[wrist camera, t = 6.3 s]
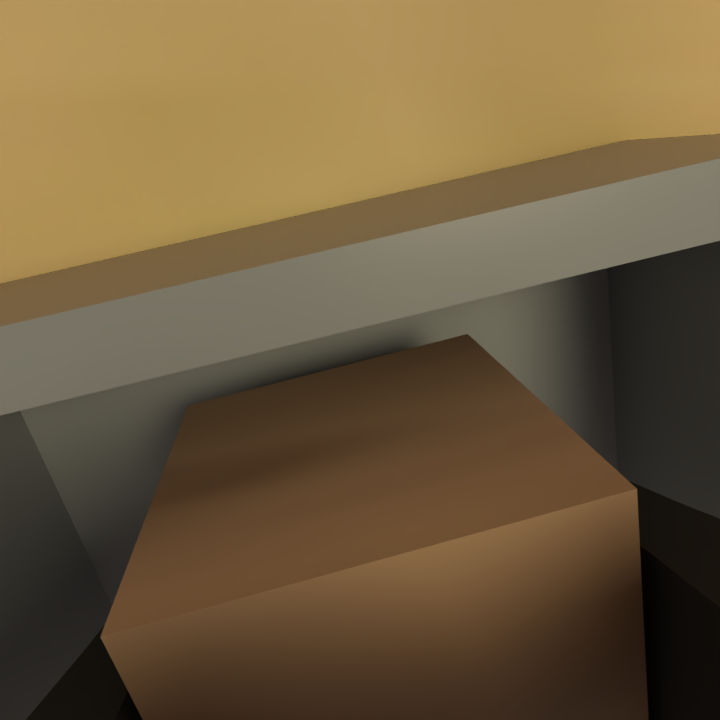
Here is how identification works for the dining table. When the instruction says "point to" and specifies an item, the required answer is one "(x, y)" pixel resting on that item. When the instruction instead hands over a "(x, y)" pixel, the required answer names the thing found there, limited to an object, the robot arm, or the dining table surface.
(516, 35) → the dining table surface
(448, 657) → the walnut cube
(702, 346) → the tote
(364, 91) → the dining table surface
